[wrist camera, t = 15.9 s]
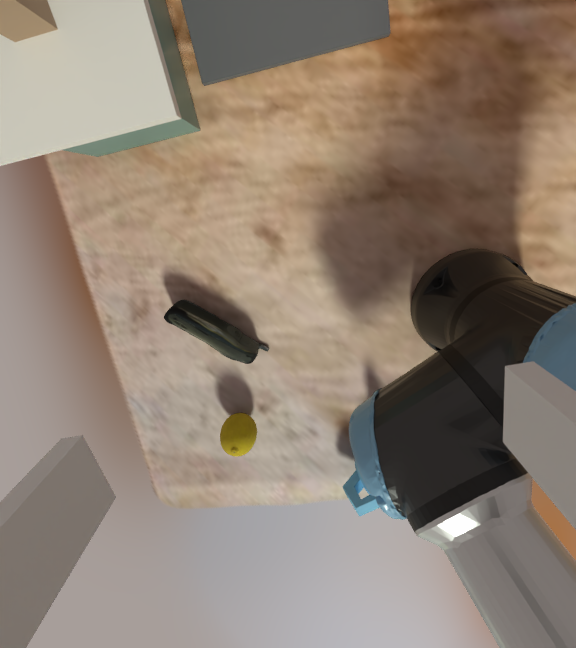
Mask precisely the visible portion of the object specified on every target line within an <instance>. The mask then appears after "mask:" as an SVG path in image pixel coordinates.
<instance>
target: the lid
mask: <svg viewBox="0 0 576 648" xmlns="http://www.w3.org/2000/svg"><path fill="white" fill-rule="evenodd" d="M179 119H182V118H181V115H180V111H179V108H178V104H177V101H176V97H175V94H174V90H173V87H172V83H171V80H170V76H169V73H168V69H167V66H166V62H165V58H164V55H163V51H162V48H161V44H160V41H159V37H158V34H157V30H156V27H155V23H154V20H153V16H152V13H151V9H150V6H149V2H148V0H0V166H2V165H6V164H9V163H13V162H17V161H21V160H25V159H29V158H32V157H36V156H40V155H44V154H48V153H52V152H56V151H59V150H63V149H67V148H71V147H75V146H79V145H83V144H86V143H90V142H94V141H98V140H102V139H106V138H109V137H113V136H117V135H121V134H125V133H129V132H133V131H136V130H140V129H144V128H148V127H152V126H156V125H159V124H163V123H167V122H171V121H175V120H179Z"/></svg>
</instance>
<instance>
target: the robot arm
mask: <svg viewBox="0 0 576 648" xmlns="http://www.w3.org/2000/svg"><path fill="white" fill-rule="evenodd" d="M411 316H412V321H413V324H414V327H415V329H416V331H417V332H418V334H419V335H420V336H421V337H422V339H423V340H424V341H425V342H426V343H427V344H428V345H429V346H430V347H431V348H433V349H434V350H436V351H437V353H435V354H434V355H432V356H431V357H429V358H428V359H426V360H425V361H423V362H422V363H420V364H419V365H417V366H416V367H414V368H413V369H411V370H410V371H408V372H407V373H405V374H404V375H402V376H401V377H399V378H398V379H396V380H395V381H393V382H392V383H390V384H389V385H387V386H385V387H384V388H381V389H378V390H377V391H376V392H375V393H374V394H373V396H371V397H370V398H369V399H368V400H366V401H365V402H364V403H362V404H361V405H360V406H358V407H357V408H356V409H355V410H354V411H353V413H352V415H351V418H350V425H349V438H350V444H351V448H352V452H353V455H354V459H355V462H356V464H357V467H358V469H359V472H360V474H361V477H362V479H363V481H364V483H365V485H366V487H367V489H368V490H369V492H370V494H371V495H372V496H375V499H376V501H377V504H378V506H379V507H380V508H381V509H382V510H383V512H385V513H386V514H387V515H388V516H390V517H391V518H394V519H402V520H403V519H406V518H407V519H408V521H409V522H410V525H411V526H412V528H413V530H414V532H415V533H416V535H417V536H418V537H420V538H422V539H425V540H427V541H429V542H432V543H434V544H436V545H438V546H439V547H440V548H442V549H443V550H444V551H445V553H446V555H447V557H448V558H449V560H450V562H451V564H452V565H453V567H454V569H455V571H456V572H457V574H458V576H459V578H460V579H461V581H462V583H463V585H464V586H465V588H466V590H467V592H468V593H469V595H470V597H471V599H472V600H473V602H474V604H475V606H476V607H477V609H478V611H479V612H480V614H481V616H482V617H483V619H484V621H485V623H486V625H487V626H488V628H489V630H490V631H491V633H492V635H493V637H494V638H495V640H496V642H497V644H498V646H499V647H500V648H576V561H575V559H574V558H573V557H572V556H571V555H570V553H569V552H568V550H567V549H566V548H565V547H564V545H563V544H562V543H561V541H560V540H559V539H558V538H557V536H556V535H555V534H554V532H553V531H552V530H551V529H550V527H549V526H548V525H547V523H546V522H545V521H544V520H543V518H542V517H541V516H540V514H539V513H538V512H537V511H536V509H535V508H534V506H533V504H532V501H531V495H532V478H533V479H534V480H535V481H536V483H537V484H538V485H539V486H540V487H541V489H542V490H543V491H544V492H545V493H546V495H547V496H548V497H549V498H550V499H551V501H552V502H553V503H554V504H555V505H556V507H557V508H558V509H559V510H560V511H561V513H562V514H563V515H564V516H565V517H566V519H567V520H568V521H569V522H570V524H571V525H572V526H573V527H574V528H575V529H576V296H573V295H570V294H567V293H565V292H562V291H559V290H556V289H553V288H550V287H548V286H545V285H542V284H539V283H536V282H534V281H533V280H532V279H531V278H530V277H529V276H528V275H527V273H526V272H525V271H524V269H523V268H522V267H521V266H520V265H519V264H518V263H517V262H516V261H514V260H513V259H511V258H509V257H507V256H505V255H503V254H500V253H497V252H493V251H490V250H484V249H469V250H463V251H459V252H456V253H454V254H451V255H449V256H447V257H445V258H443V259H442V260H440V261H439V262H437V263H436V264H435V265H433V266H432V267H431V268H430V269H429V270H428V271H427V272H426V273H425V275H424V276H423V277H422V279H421V280H420V282H419V283H418V285H417V287H416V289H415V292H414V295H413V298H412V304H411ZM115 498H116V496H115V494H114V492H113V490H112V489H111V487H110V485H109V483H108V481H107V479H106V477H105V476H104V474H103V472H102V470H101V468H100V466H99V465H98V463H97V461H96V459H95V457H94V455H93V453H92V451H91V450H90V448H89V446H88V444H87V442H86V440H85V438H84V437H83V435H82V436H75V437H70V438H63V439H61V440H60V441H59V442H58V443H57V444H56V445H55V446H54V447H53V448H52V449H51V450H50V451H49V452H48V453H47V454H46V455H45V456H44V458H42V459H41V460H40V461H39V463H38V464H37V465H36V466H35V467H34V468H33V469H32V470H31V471H30V472H29V473H28V474H27V475H26V476H25V477H24V478H23V479H22V480H21V481H20V482H19V483H18V484H17V485H16V486H15V487H14V488H13V489H12V490H11V492H10V493H9V494H8V495H7V496H6V497H5V498H4V499H3V500H2V501H1V502H0V648H26V647H27V645H28V644H29V642H30V640H31V639H32V637H33V635H34V633H35V632H36V630H37V628H38V627H39V625H40V623H41V622H42V620H43V618H44V617H45V615H46V613H47V612H48V610H49V608H50V607H51V605H52V603H53V602H54V600H55V598H56V597H57V595H58V593H59V592H60V590H61V588H62V587H63V585H64V583H65V582H66V580H67V578H68V577H69V575H70V573H71V572H72V570H73V568H74V567H75V564H76V563H77V562H78V560H79V558H80V556H81V555H82V553H83V551H84V550H85V548H86V546H87V545H88V543H89V542H90V540H91V538H92V537H93V535H94V533H95V531H96V530H97V528H98V526H99V525H100V523H101V521H102V520H103V518H104V516H105V515H106V513H107V511H108V510H109V508H110V506H111V505H112V503H113V501H114V500H115Z"/></svg>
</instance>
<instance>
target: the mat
mask: <svg viewBox="0 0 576 648" xmlns="http://www.w3.org/2000/svg"><path fill="white" fill-rule="evenodd" d="M181 2H182V5H183V9H184V13H185V17H186V21H187V25H188V29H189V33H190V37H191V41H192V45H193V49H194V52H195V56H196V60H197V64H198V68H199V72H200V76H201V80H202V84H203V85H204V86H206V85H210V84H213V83H217V82H221V81H224V80H228V79H232V78H236V77H239V76H243V75H247V74H251V73H254V72H258V71H262V70H265V69H269V68H273V67H277V66H280V65H284V64H288V63H291V62H295V61H299V60H303V59H306V58H310V57H314V56H318V55H321V54H325V53H329V52H332V51H336V50H340V49H344V48H347V47H351V46H355V45H358V44H362V43H366V42H370V41H373V40H377V39H381V38H385V37H388V36H389V35H390V21H389V9H388V0H181Z"/></svg>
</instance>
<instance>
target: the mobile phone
mask: <svg viewBox="0 0 576 648" xmlns="http://www.w3.org/2000/svg"><path fill="white" fill-rule="evenodd" d="M164 319H165V320H166V321H167V322H168V323H170V324H173V325H175V326H177V327H179V328H180V329H182V330H184V331H186V332H188V333H189V334H191V335H193V336H195V337H196V338H198V339H200V340H202V341H204V342H206V343H207V344H209V345H210V346H211V347H213V348H214V349H216V350H217V351H219V352H220V353H221V354H223V355H224V356H226V357H228V358H230V359H232V360H237V361H240V362H243V363H246V364H249V363H252V362H253V361H254V359H255V358H256V356H257V354H258V349H263V350H265V351H268V350H269V348H268V347H267V346H265V345H262V344H260V343H258V342H256V341H255V340H253V339H251V338H249V337H247V336H246V335H244V334H243V333H241V332H240V331H239V330H238V329H237V328H236V327H234V326H232V325H230V324H228V323H226V322H225V321H223V320H221V319H220V318H218V317H217V316H215V315H213V314H211V313H209V312H208V311H206V310H204V309H202V308H201V307H199V306H197V305H195V304H194V303H191V302H189V301H187V300H180V301H178V302H177V303H176V304H174V305H173V306H172V307H171V308H170V309H169V310H168V311H167V312H166V314H165V316H164Z"/></svg>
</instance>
